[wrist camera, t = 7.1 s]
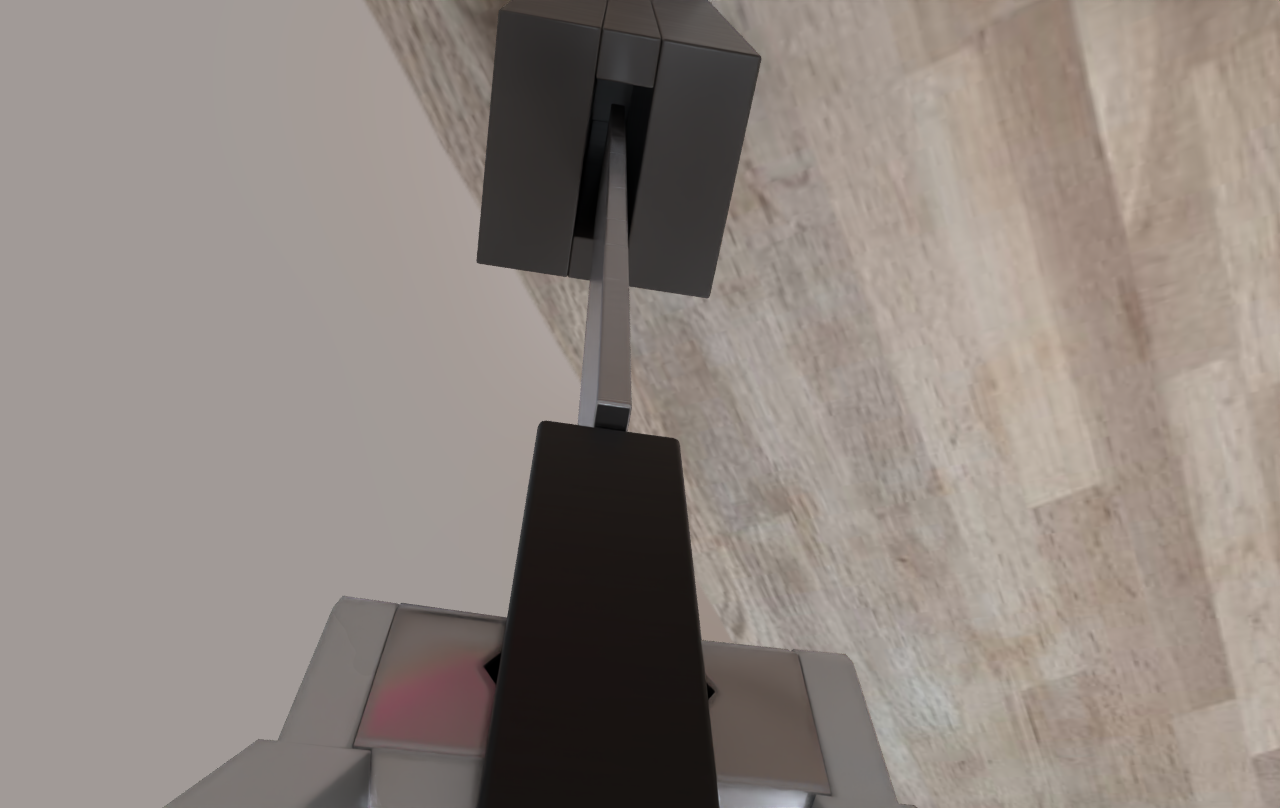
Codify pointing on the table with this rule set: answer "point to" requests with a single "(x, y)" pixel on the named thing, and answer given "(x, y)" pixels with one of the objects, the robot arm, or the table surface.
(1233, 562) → the table surface
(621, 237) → the knife
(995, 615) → the table surface
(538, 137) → the knife block
